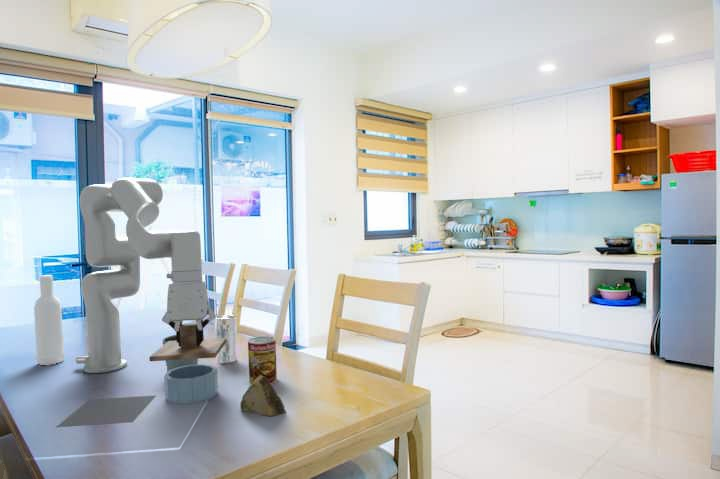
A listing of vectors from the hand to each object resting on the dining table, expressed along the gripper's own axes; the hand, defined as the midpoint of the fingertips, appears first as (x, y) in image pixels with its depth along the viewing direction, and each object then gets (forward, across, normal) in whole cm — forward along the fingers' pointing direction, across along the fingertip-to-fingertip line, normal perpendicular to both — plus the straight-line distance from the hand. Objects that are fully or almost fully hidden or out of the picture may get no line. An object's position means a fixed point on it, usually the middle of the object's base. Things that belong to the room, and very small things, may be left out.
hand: (190, 344), depth 128 cm
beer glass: (+14, +4, +31) cm, 34 cm away
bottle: (+14, -57, +41) cm, 72 cm away
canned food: (+14, +18, +9) cm, 25 cm away
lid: (+2, 0, 0) cm, 2 cm away
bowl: (+14, 0, 0) cm, 14 cm away
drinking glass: (+14, -7, +17) cm, 23 cm away
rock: (+15, +20, -14) cm, 28 cm away
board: (+14, -18, -8) cm, 24 cm away
